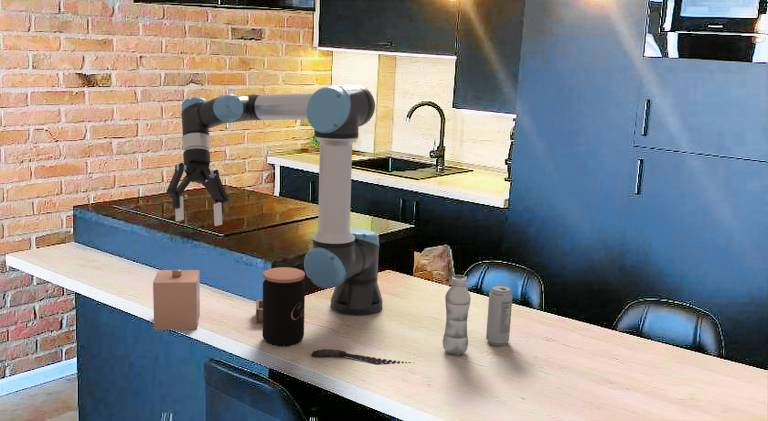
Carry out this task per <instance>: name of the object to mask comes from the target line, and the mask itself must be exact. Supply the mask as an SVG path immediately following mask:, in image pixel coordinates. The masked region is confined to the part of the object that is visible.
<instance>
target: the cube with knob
mask: <svg viewBox="0 0 768 421" xmlns="http://www.w3.org/2000/svg"><path fill="white" fill-rule="evenodd" d="M200 285H201V284H200V269H179V268H175V269H158V270H157V272H156V274H155V277H154V280H153V282H152V290H153V291H152V295H153V297H152V299H153V329H154V330H153V331H163V330H164V331H165V330H167V331H168V330H169V331H171V330H176V331H177V330H197V329H198V325H199V321H200V315H201V309H200V308H201V307H200V306H201V302H200V300H201V297H200Z"/></svg>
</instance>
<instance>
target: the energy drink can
mask: <svg viewBox="0 0 768 421" xmlns="http://www.w3.org/2000/svg"><path fill="white" fill-rule="evenodd" d="M512 307H513V293H512V290H511V287H510V286H506V285H500V284H498V285H493V286H492V287H491V290H490V291H489V293H488V306H487V308H488V309H487V319H486V320H487V321H486V333H485V335H486V336H485V339H486V340H487V343H488V344H489V345H492V346H496V347H503V346H506V345H507V344H508V342H510V334H511V333H510V332H511V321H512V309H513V308H512Z"/></svg>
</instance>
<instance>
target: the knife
mask: <svg viewBox="0 0 768 421" xmlns="http://www.w3.org/2000/svg"><path fill="white" fill-rule="evenodd" d="M311 355H312V357H313V358H323V359H324V358H334V359H335V358H337V359H345V358H347V359H352V360H355V361H359V362H363V363H366V364H370V365H375V366H381V365H395V364H397V365H398V364H400V363H401V364H404V363H405V364H408V363H409V364H412V363H414V364H415V362H413V361H412V362H410V361H408V362H407V361H402V360H393V361H392V359H386V358H383V359H382V358H380V357H378V358H376V357H371V356H368V355H366V356H365V355H362V354H361V355H360V354H356V353H355V354H353V353H349V352H347V351H346V350H340V349H335V348H333V349H331V348H322V349H317V350H314V351H313V350H312V352H311Z"/></svg>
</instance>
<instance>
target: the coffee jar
mask: <svg viewBox="0 0 768 421" xmlns="http://www.w3.org/2000/svg"><path fill="white" fill-rule="evenodd" d="M262 276H263V279H264V280H263V282H262V300H263V323H262V331H261V332H262V337H263V340H264V342H265V343H266V344H268V345H270V346H274V347H290V346H291V347H292V346H296V345H298V344H299V343H301V341H302V339H304V336H305V302H306V301H305V297H306V296H305V294H306V290H305V289H306V283H305V280H304V279H305V277H306V272H305V270H302V269H299V268H295V267H288V266H287V267H283V266H282V267H279V266H278V267H273V268H269V269H268V268H267V269H266V270H264V271H263V272H262Z"/></svg>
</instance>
